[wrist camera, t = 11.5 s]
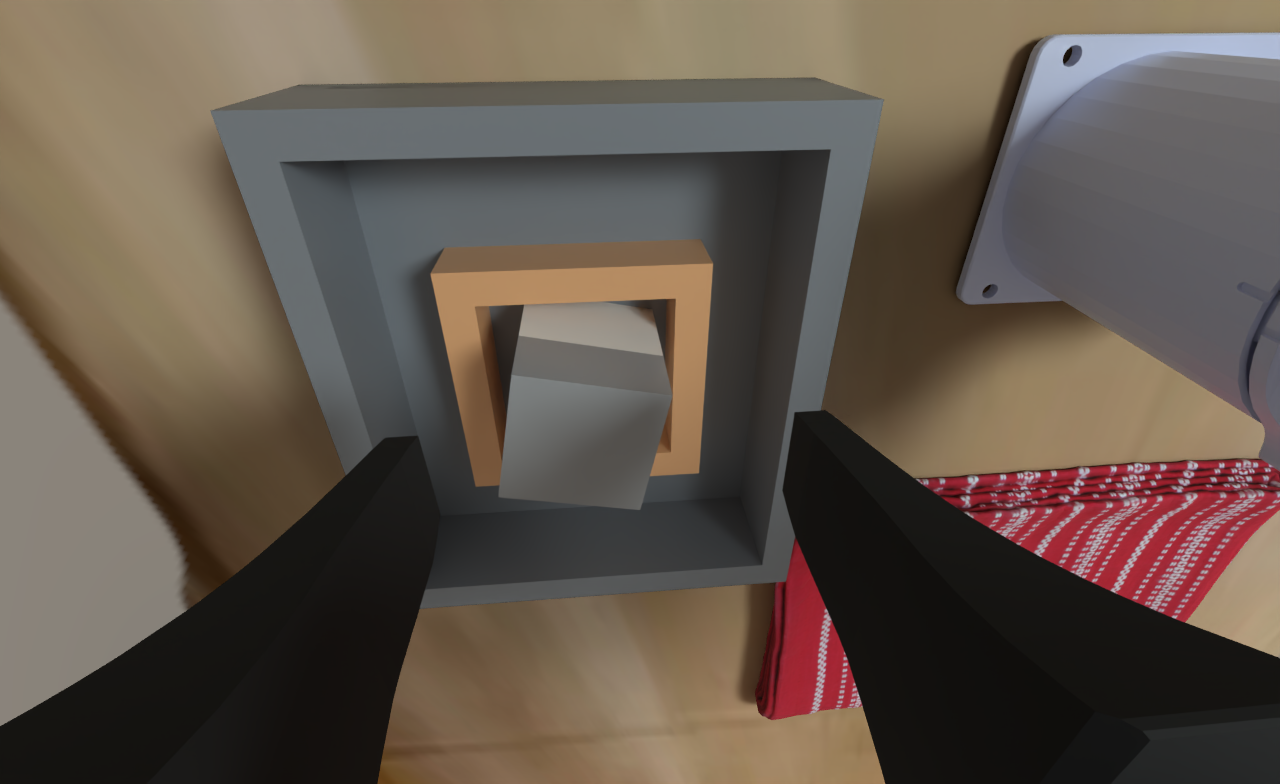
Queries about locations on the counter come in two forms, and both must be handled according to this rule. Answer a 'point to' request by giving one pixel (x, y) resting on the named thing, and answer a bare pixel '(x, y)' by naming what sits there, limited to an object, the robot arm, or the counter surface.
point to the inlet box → (566, 295)
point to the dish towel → (1050, 553)
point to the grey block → (584, 405)
